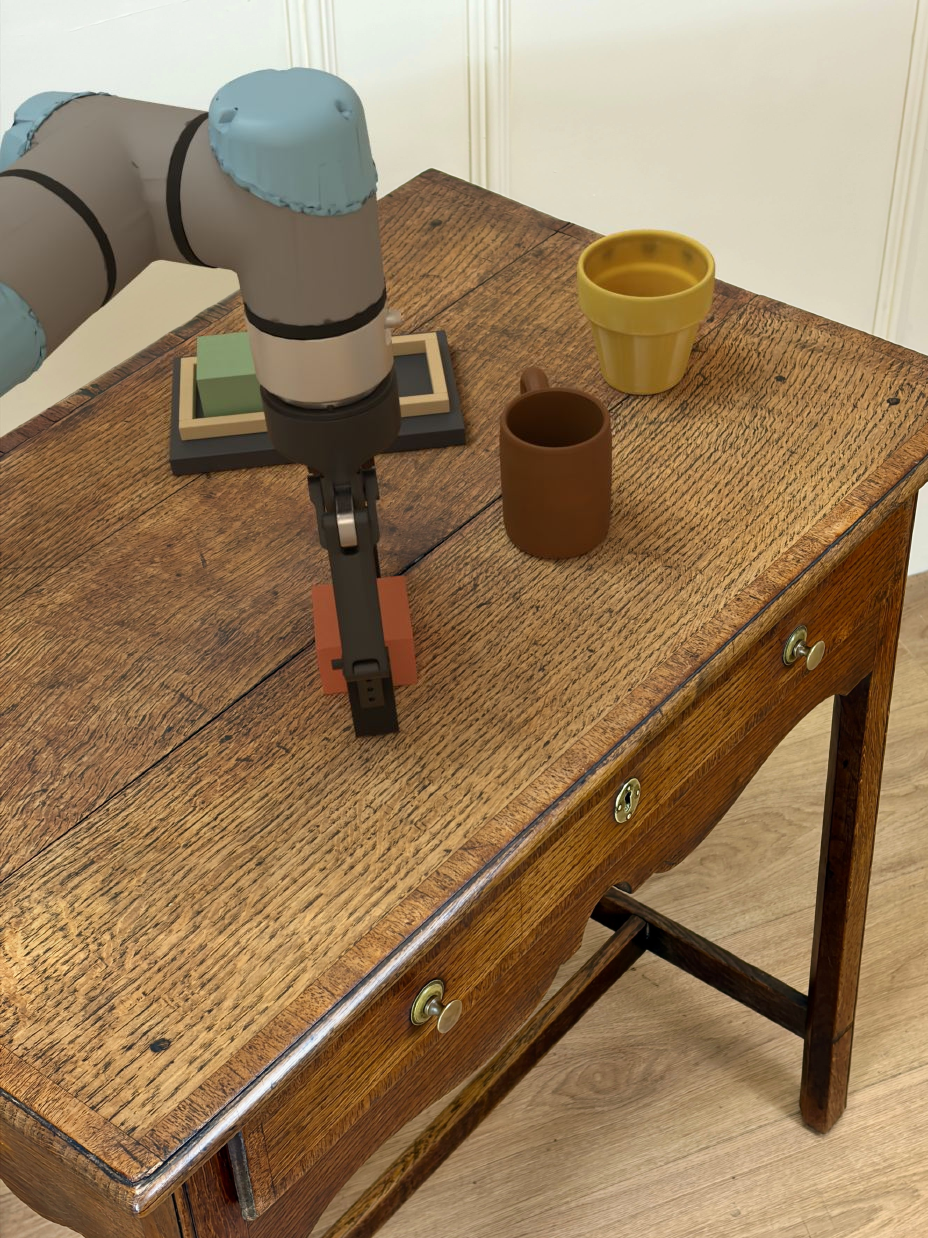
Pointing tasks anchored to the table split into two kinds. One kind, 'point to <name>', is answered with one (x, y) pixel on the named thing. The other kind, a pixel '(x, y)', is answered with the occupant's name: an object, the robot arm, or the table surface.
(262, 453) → the backing plate
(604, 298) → the flower pot
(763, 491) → the table surface
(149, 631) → the table surface
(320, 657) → the terracotta cube
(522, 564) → the table surface
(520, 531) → the mug
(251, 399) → the green block
